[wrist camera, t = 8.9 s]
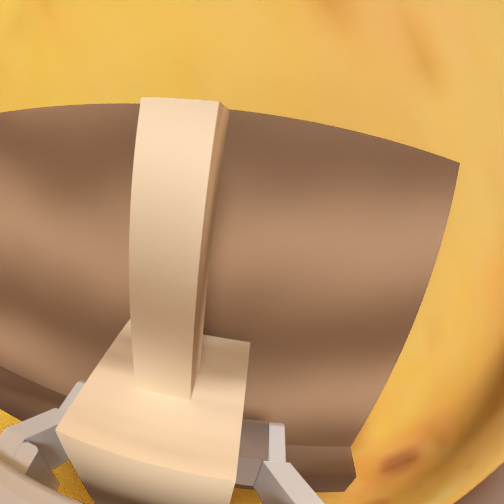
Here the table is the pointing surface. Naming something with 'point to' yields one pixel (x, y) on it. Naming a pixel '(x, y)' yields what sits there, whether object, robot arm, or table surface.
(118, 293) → the board
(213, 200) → the cream block with bar
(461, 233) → the table surface
